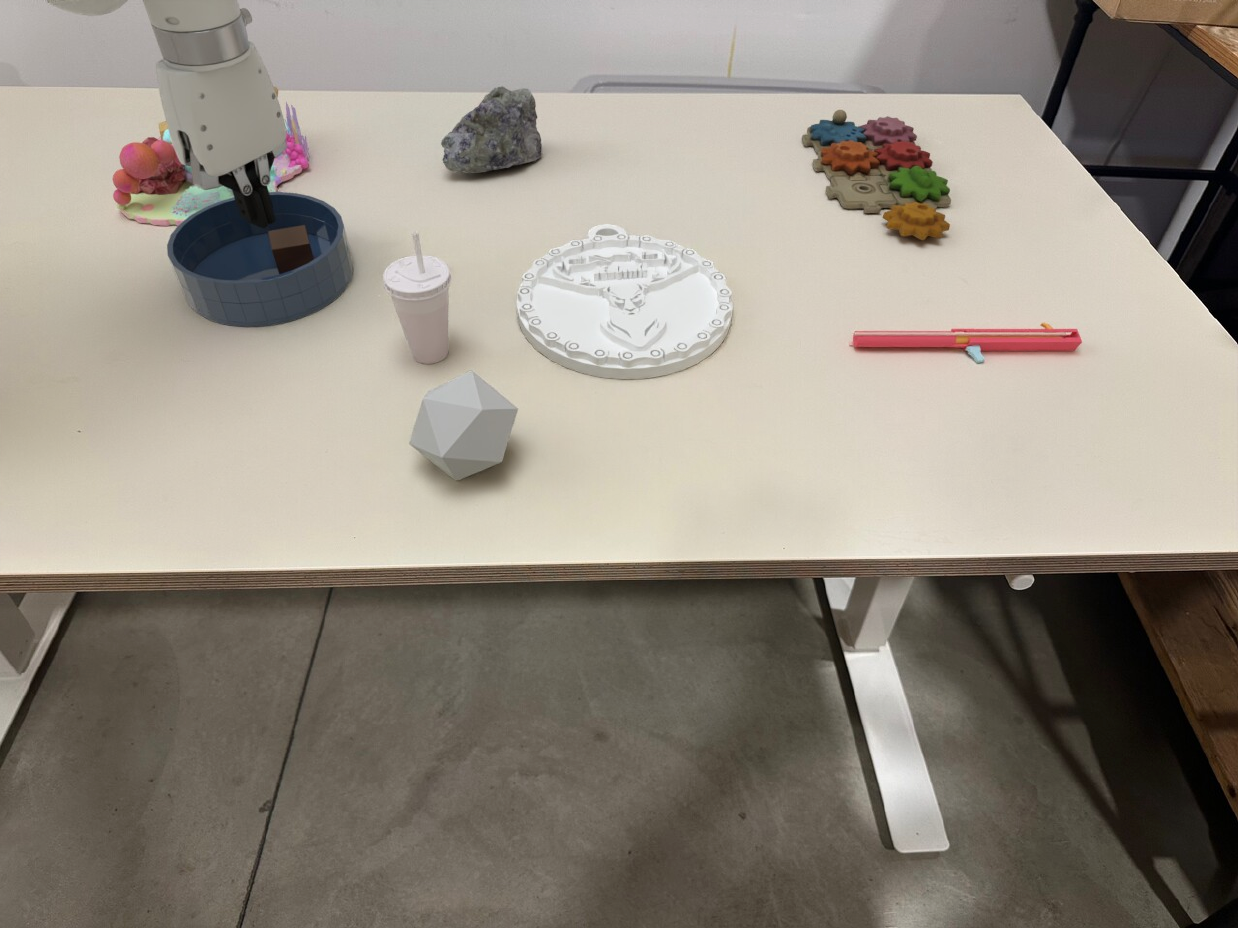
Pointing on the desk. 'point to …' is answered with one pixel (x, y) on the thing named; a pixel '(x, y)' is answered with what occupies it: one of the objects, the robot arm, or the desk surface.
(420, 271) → the smoothie
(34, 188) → the desk surface
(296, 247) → the block
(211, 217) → the bowl
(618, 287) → the medallion
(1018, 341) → the red long bar
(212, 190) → the pastel sphere sculpture
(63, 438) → the desk surface
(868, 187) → the gear puzzle
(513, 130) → the mineral rock
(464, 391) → the die
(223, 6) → the robot arm
